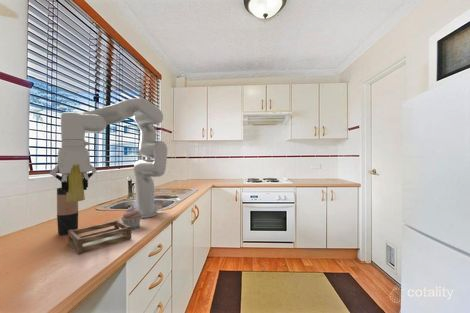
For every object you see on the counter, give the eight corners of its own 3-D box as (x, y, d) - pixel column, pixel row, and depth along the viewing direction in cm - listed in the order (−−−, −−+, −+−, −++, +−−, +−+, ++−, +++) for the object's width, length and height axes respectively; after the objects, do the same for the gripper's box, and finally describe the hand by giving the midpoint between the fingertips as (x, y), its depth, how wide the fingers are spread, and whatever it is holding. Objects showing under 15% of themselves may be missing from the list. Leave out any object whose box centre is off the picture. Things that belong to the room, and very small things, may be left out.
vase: (63, 202, 84) (62, 165, 84) (68, 199, 90) (67, 164, 89) (82, 201, 86) (81, 164, 86) (86, 198, 92) (85, 163, 91)
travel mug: (67, 235, 96) (66, 189, 96) (52, 234, 98) (51, 188, 97) (82, 229, 104) (82, 186, 103) (69, 228, 105) (68, 186, 105)
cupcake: (144, 228, 105) (143, 207, 105) (121, 231, 101) (121, 209, 100) (141, 223, 113) (140, 203, 113) (120, 226, 109) (120, 205, 108)
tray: (117, 231, 101) (117, 219, 101) (131, 239, 92) (131, 226, 92) (68, 243, 88) (67, 230, 88) (78, 254, 78) (77, 239, 78)
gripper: (95, 145, 96) (97, 186, 97) (43, 144, 84) (45, 192, 84) (101, 144, 91) (102, 188, 91) (46, 144, 78) (48, 195, 79)
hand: (75, 190), depth 88 cm, fingers closed on vase, 5 cm apart
